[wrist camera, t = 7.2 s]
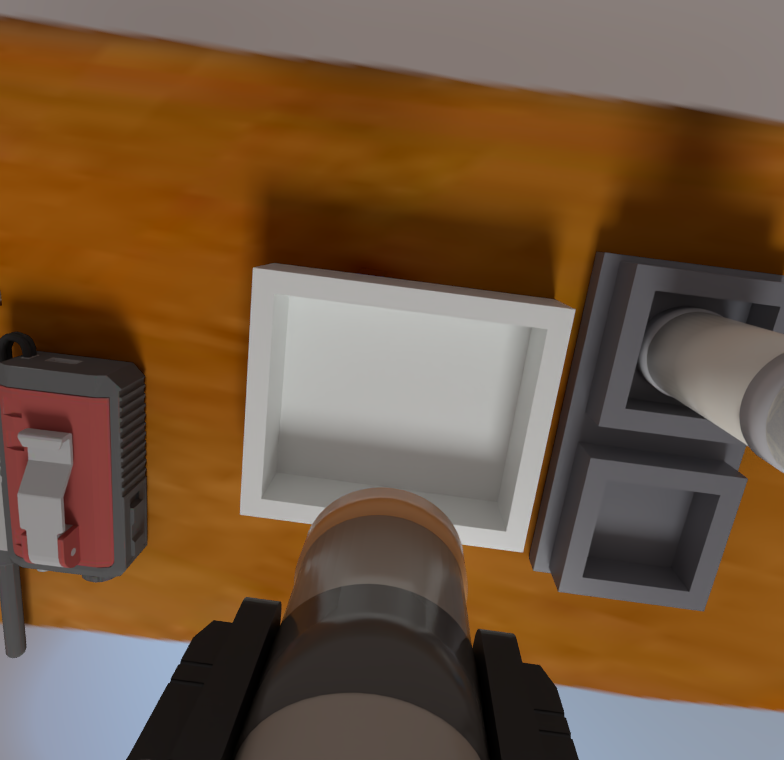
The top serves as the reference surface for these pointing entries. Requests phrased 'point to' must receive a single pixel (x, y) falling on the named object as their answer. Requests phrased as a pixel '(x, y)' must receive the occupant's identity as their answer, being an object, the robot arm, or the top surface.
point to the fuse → (720, 374)
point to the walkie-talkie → (67, 470)
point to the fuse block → (643, 444)
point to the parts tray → (399, 397)
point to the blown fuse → (372, 642)
